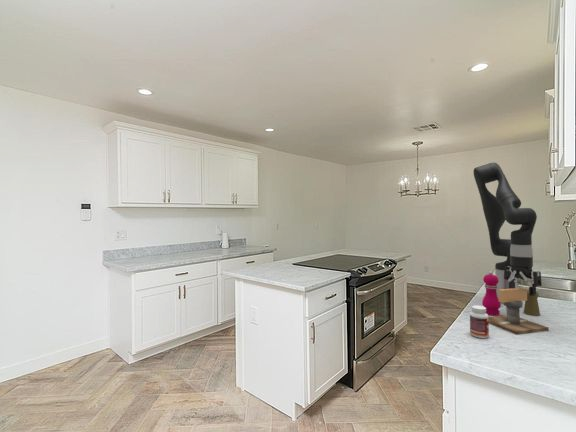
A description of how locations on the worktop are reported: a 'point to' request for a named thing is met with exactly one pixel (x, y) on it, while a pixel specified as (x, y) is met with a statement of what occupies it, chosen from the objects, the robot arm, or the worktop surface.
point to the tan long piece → (513, 296)
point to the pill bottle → (479, 322)
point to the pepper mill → (491, 295)
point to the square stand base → (515, 323)
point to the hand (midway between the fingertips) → (522, 293)
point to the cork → (532, 305)
